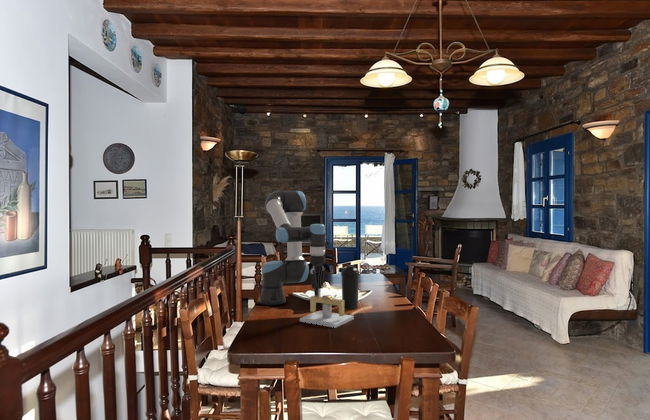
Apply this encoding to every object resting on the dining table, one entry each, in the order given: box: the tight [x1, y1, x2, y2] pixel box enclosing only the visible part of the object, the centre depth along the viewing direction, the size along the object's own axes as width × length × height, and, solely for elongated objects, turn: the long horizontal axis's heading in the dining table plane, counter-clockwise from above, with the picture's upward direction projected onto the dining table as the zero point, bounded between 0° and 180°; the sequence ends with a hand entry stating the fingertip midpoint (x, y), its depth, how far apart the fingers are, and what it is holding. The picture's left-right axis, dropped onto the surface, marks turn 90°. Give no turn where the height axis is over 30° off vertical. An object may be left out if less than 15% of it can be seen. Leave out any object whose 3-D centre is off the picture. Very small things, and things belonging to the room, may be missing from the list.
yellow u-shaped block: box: [309, 294, 345, 317], centre depth 216 cm, size 18×5×8 cm, turn 58°
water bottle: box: [340, 264, 360, 310], centre depth 243 cm, size 10×10×23 cm
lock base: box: [299, 303, 355, 329], centre depth 217 cm, size 20×18×8 cm
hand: (317, 301), depth 222 cm, fingers closed
